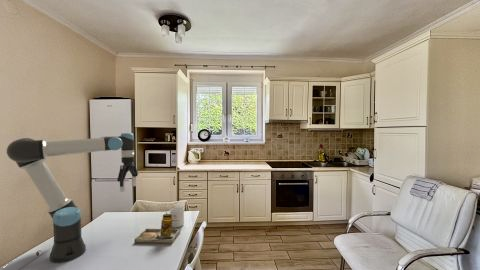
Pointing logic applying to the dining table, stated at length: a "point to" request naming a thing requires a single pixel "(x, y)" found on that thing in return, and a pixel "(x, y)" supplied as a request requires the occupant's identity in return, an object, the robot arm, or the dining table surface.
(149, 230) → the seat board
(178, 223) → the mug
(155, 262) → the dining table surface
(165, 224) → the condiment
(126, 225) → the dining table surface
